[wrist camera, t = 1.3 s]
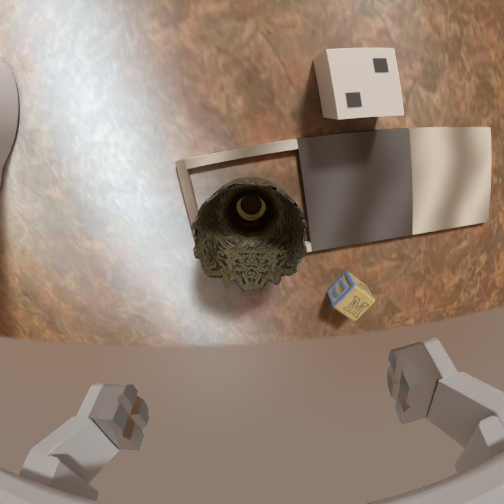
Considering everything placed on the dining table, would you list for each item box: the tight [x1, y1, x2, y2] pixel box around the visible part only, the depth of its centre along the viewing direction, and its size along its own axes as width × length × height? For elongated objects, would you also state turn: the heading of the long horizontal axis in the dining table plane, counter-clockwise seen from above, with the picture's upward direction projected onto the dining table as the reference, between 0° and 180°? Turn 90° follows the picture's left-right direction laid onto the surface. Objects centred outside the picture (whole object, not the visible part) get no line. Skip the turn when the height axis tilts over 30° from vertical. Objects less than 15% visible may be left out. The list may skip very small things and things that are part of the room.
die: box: [313, 48, 404, 120], centre depth 20 cm, size 5×5×5 cm
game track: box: [175, 127, 491, 252], centre depth 26 cm, size 30×10×1 cm, turn 100°
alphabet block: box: [327, 271, 375, 321], centre depth 30 cm, size 3×3×3 cm
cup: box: [192, 177, 307, 291], centre depth 24 cm, size 8×7×8 cm
